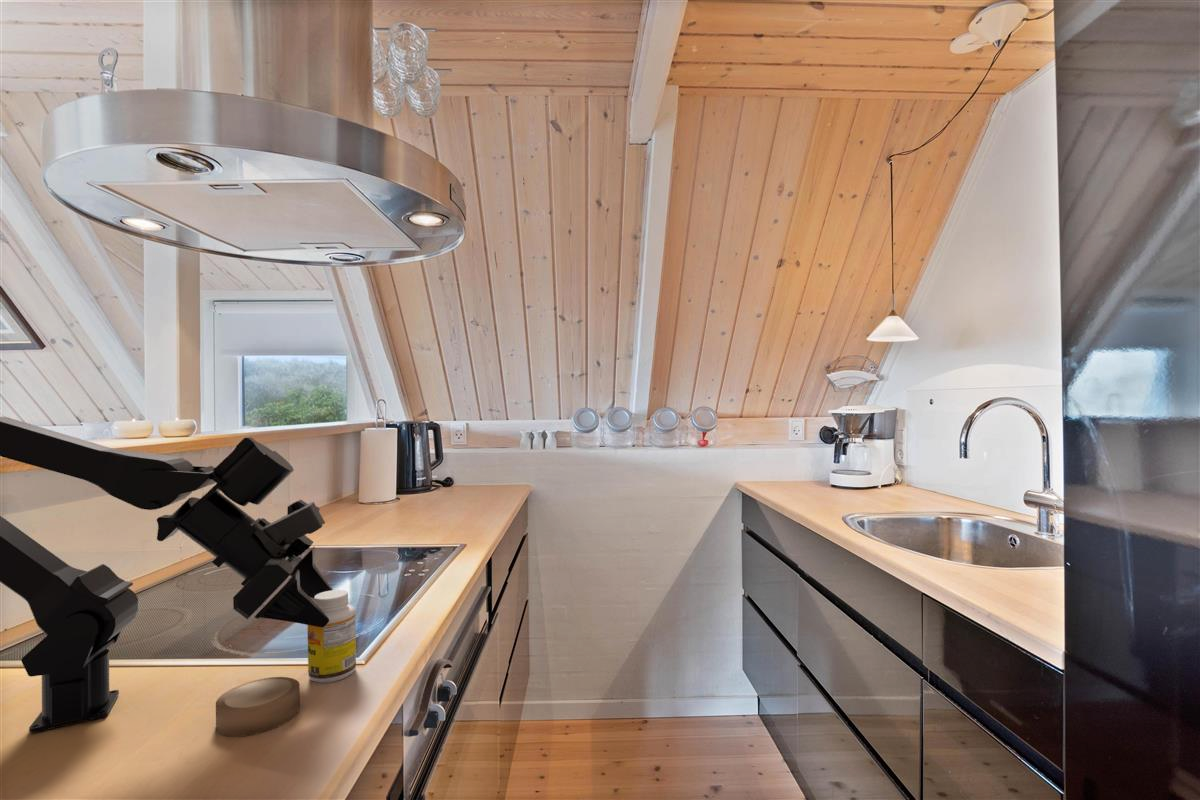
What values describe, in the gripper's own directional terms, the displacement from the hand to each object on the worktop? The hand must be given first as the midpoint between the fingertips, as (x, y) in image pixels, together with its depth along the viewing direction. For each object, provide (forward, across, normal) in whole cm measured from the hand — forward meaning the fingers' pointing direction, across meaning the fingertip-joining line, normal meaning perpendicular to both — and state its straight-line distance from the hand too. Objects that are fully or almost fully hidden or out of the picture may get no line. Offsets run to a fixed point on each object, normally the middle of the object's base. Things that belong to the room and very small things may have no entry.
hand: (331, 611), depth 75 cm
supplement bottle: (+6, 0, +6) cm, 8 cm away
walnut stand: (+1, -8, +10) cm, 13 cm away
